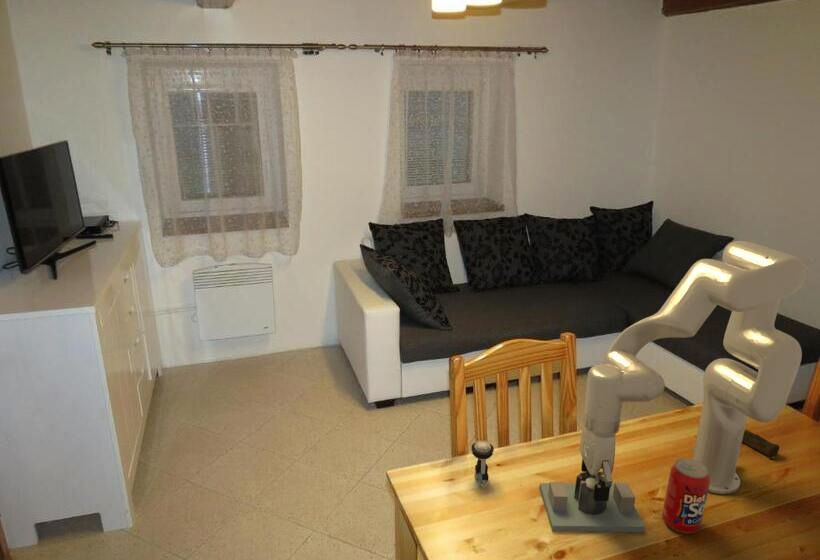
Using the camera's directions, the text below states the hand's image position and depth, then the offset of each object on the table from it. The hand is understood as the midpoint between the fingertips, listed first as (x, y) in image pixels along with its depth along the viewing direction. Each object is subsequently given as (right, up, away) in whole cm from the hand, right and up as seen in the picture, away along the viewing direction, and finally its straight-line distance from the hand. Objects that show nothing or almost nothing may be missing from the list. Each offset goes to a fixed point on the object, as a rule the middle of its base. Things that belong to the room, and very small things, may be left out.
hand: (594, 485), depth 132 cm
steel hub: (-1, -5, +2) cm, 5 cm away
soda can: (+19, -8, -2) cm, 20 cm away
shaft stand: (-1, -6, +2) cm, 7 cm away
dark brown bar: (+48, +2, +28) cm, 56 cm away
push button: (-24, -3, +11) cm, 27 cm away
